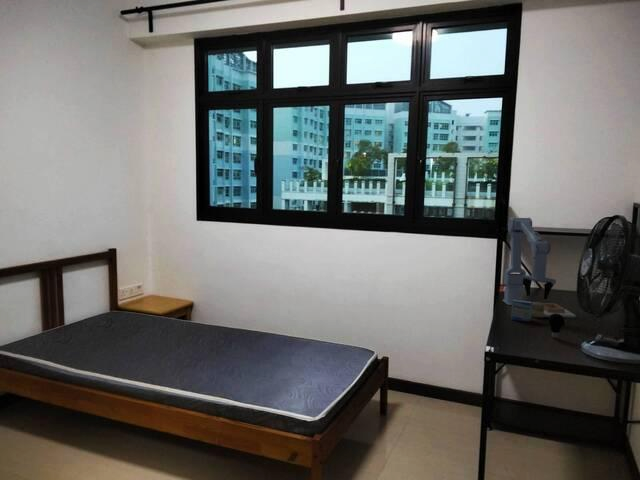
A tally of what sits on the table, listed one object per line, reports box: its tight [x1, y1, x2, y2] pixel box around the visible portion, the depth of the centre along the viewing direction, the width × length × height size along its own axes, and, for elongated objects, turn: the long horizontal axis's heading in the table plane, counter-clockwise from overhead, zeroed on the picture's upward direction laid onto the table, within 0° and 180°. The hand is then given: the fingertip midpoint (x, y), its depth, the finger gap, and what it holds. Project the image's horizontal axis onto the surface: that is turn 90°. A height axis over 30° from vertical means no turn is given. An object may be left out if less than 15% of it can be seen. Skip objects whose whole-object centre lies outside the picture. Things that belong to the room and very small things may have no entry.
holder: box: [541, 302, 577, 318], centre depth 225 cm, size 18×14×3 cm
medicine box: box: [510, 299, 533, 323], centre depth 211 cm, size 8×4×9 cm, turn 62°
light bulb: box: [547, 314, 566, 339], centre depth 186 cm, size 6×6×10 cm
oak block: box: [531, 301, 544, 318], centre depth 218 cm, size 4×6×6 cm, turn 87°
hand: (536, 297), depth 214 cm, fingers open, 7 cm apart
